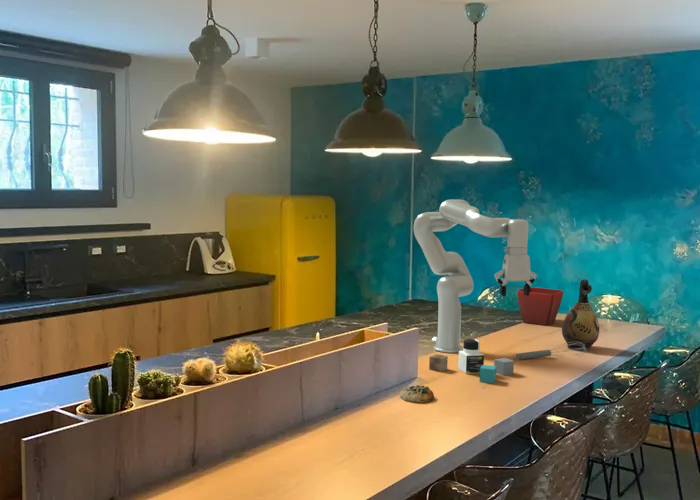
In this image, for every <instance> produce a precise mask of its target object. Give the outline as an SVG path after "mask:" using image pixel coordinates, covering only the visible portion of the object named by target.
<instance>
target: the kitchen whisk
mask: <svg viewBox="0 0 700 500" xmlns="http://www.w3.org/2000/svg"><path fill="white" fill-rule="evenodd" d="M569 343H570V342H569ZM579 343H580V342H579ZM574 344H575V345H576V343H574ZM581 344H582V345H583V343H581ZM564 345H565V347H566V346H568V345H567V342H565V343H564V344H560V345H559V346H558V347H557V346H556V347H554V348H552V349H541V350H536V351H535V350H534V351H527V352H519V353H514V354H513V355H511V356H512V359H513V361H516V360H518V361H519V360H520V361H523V360H529V359H537V358H546V357H551V356H555V357H562V356H564V354H560V353H559V350H557V349H561V348H563V347H564ZM569 345H570V344H569ZM580 346H581V345H580ZM583 346H584V345H583ZM577 349H578V350H577V351H579V350H580V349H579V348H577ZM583 349H584V350H582V352H580V353H577V354H576V353H575V354H573V355H574V356H578V357H581V354H582V355H584V354H585V353H586V352H587V351H588V350H585V349H586V348H583ZM554 350H555V351H554ZM568 351H570V352H573V351H574V350H573V349H569V348H568ZM580 351H581V350H580ZM563 352H567V350H566V349H565V350H562V353H563ZM579 355H580V356H579ZM513 356H515V359H514V357H513Z"/></svg>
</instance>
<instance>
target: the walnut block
mask: <svg viewBox="0 0 700 500" xmlns="http://www.w3.org/2000/svg"><path fill="white" fill-rule="evenodd" d="M448 357H449V356H447V355H442V354H433V355H430V356H429V363H428V364H429V365H428V367H429V368H428V369H429V370H430V371H435V372H440V373H441V372H444V371H446V370H448V360H449V359H448Z"/></svg>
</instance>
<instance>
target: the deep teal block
mask: <svg viewBox="0 0 700 500" xmlns="http://www.w3.org/2000/svg"><path fill="white" fill-rule="evenodd" d="M496 381H497V373H496V366H494V365H488V364H484V365H482V366H481V367H480V373H479V382H480V383H486V384H487V383H488V384H494V383H495V382H496Z"/></svg>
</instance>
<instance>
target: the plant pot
mask: <svg viewBox="0 0 700 500" xmlns="http://www.w3.org/2000/svg"><path fill="white" fill-rule="evenodd" d="M564 291H565V290H562V289H553V288H552V289H551V288H544V287H532V286H530V293H529V296H526V295H524V287H523V288H521V289H518V290H516V293H517V295H516V296H517V302H518V308H519V313H520V316H521V319H522V322H523V323H525V324H534V325H540V326H549V325H551V324H553V323H555V321H556V319H557V315H558V313H559V310H560V308H561V305H562V304H561V303H562V300H563V296H564Z"/></svg>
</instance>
